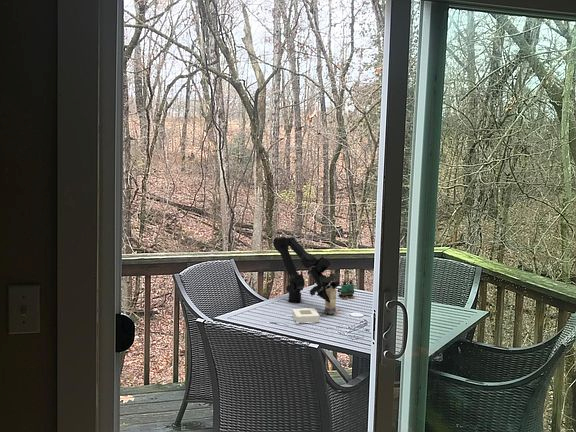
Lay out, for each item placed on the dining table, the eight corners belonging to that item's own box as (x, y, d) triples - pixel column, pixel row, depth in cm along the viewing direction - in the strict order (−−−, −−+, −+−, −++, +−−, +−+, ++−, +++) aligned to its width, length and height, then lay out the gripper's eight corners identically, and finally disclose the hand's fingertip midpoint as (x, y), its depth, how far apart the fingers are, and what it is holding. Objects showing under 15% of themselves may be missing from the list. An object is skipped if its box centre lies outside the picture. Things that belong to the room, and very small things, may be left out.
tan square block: (324, 312, 333) (325, 289, 330) (329, 310, 336) (330, 287, 333) (330, 314, 330) (331, 291, 328) (335, 312, 333) (336, 289, 330)
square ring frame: (292, 316, 329) (292, 308, 328) (313, 314, 331) (314, 307, 330) (296, 324, 317) (296, 316, 317) (319, 323, 320) (319, 315, 319)
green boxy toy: (347, 277, 367) (356, 280, 358) (347, 294, 368) (356, 298, 359) (334, 279, 363) (343, 282, 354) (334, 296, 364) (343, 300, 355)
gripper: (314, 272, 325) (328, 297, 319) (338, 266, 337) (352, 290, 332) (303, 283, 332) (317, 308, 326) (327, 276, 345) (341, 300, 339)
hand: (332, 301), depth 331 cm, fingers closed on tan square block, 4 cm apart
